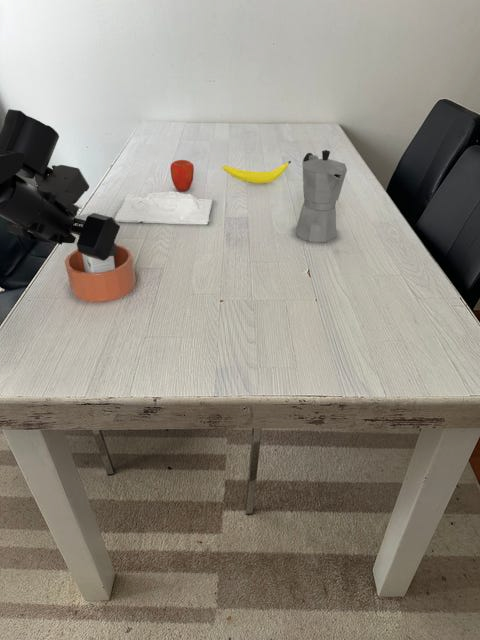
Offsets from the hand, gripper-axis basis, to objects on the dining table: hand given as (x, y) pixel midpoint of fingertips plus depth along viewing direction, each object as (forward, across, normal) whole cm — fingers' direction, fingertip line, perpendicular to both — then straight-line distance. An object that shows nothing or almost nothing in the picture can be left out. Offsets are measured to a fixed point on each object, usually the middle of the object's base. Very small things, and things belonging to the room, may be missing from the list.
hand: (95, 246), depth 75 cm
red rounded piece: (+40, +13, -28) cm, 51 cm away
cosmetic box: (+5, 0, +5) cm, 7 cm away
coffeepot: (+34, -26, -22) cm, 48 cm away
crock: (+6, 0, +5) cm, 8 cm away
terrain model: (+29, +9, -18) cm, 36 cm away
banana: (+49, -2, -38) cm, 62 cm away
